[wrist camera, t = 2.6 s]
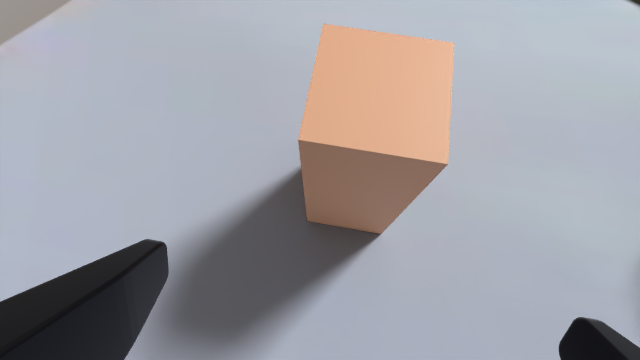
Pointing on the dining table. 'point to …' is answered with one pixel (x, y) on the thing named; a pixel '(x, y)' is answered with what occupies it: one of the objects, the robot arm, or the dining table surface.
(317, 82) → the post
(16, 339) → the robot arm
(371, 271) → the dining table surface
